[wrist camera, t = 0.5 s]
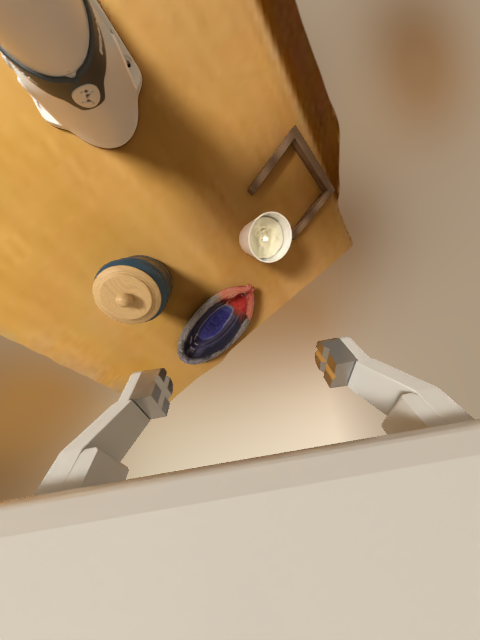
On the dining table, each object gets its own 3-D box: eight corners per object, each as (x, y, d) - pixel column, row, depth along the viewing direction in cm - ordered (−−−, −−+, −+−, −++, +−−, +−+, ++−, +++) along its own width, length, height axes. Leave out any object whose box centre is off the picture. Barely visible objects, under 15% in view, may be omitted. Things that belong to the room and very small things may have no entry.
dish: (163, 342, 54) (160, 351, 49) (233, 267, 50) (237, 269, 45) (202, 366, 60) (203, 376, 56) (267, 302, 57) (273, 307, 52)
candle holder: (269, 257, 51) (290, 261, 40) (236, 259, 49) (248, 264, 38) (271, 218, 47) (294, 211, 36) (235, 218, 45) (248, 211, 34)
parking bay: (290, 239, 50) (294, 239, 48) (247, 190, 43) (249, 187, 41) (329, 191, 47) (335, 189, 46) (290, 129, 40) (295, 124, 38)
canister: (180, 296, 49) (174, 322, 34) (133, 311, 48) (104, 345, 32) (160, 248, 43) (141, 252, 28) (106, 263, 42) (54, 276, 26)
